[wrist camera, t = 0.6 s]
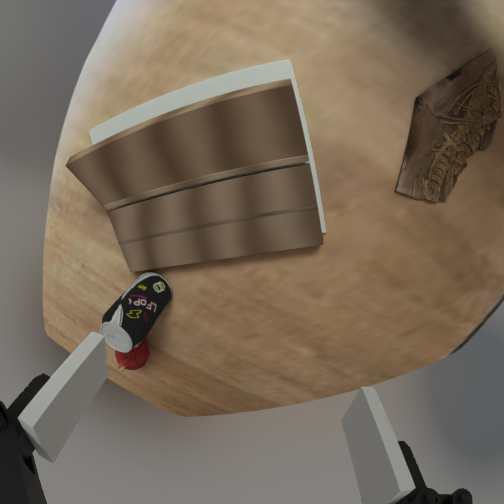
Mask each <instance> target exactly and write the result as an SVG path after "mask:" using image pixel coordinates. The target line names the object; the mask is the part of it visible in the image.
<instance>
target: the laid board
mask: <svg viewBox="0 0 504 504" xmlns="http://www.w3.org/2000/svg"><path fill="white" fill-rule="evenodd" d="M108 214H109V216H110V219H111V222H112V225H113V228H114V231H115V233H116V236H117V239H118V241H119V242H118V243H119V244H120V247H121V249H122V252H123V254H124V257H125V259H126V262H127V264H128V267H129V269H130V271H131V272H134V271H141V270H148V269H155V268H163V267H170V266H177V265H184V264H191V263H198V262H205V261H212V260H219V259H226V258H233V257H240V256H247V255H254V254H261V253H268V252H275V251H282V250H289V249H296V248H303V247H310V246H317V245H324V243H323V236H322V230H321V223H320V217H319V211H318V205H317V199H316V193H315V187H314V182H313V177H312V171H311V166H310V163H304V164H298V165H292V166H287V167H281V168H276V169H271V170H265V171H260V172H255V173H250V174H246V175H241V176H236V177H232V178H227V179H223V180H218V181H214V182H210V183H206V184H201V185H197V186H193V187H189V188H185V189H182V190H178V191H174V192H170V193H166V194H163V195H159V196H155V197H152V198H148V199H145V200H141V201H138V202H135V203H131V204H128V205H125V206H121V207H118V208H115V209H113V210H111V211H109V212H108Z"/></svg>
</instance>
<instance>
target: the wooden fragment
mask: <svg viewBox="0 0 504 504" xmlns="http://www.w3.org/2000/svg"><path fill="white" fill-rule="evenodd" d="M419 97H421V99H422V100H423V102H422V101H421V100H420V98H419ZM415 103H416V108H415V112H414V117H413V122H412V127H411V132H410V137H409V141H408V145H407V150H406V155H405V158H404V162H403V165H402V167H403V168H402V170H401V174H400V178H399V183H398V186H397V190H396V191H395V192H399V193H402V194H404V195H407V196H409V197H411V198H413V199H415V200H420V199H426V200H429V201H431V202H434V203H437V202H438V201H439V200H440V201H446V197H447V196H448V195H449V194H450V192H451V190H452V188H453V187H454V185H455V183H456V181H457V178H456V177H457V176H458V175H459V173H461V172H462V171H463V168H465V167H466V166H467V163H466V159H465V158H467V157H468V156H469V155H473V153H474V152H476V150H483V151H484V150H485V149H486V148H487V147H488V146H489V144H490V143H491V142H492V135H493V132H494V129H495V124H496V121H497V119H498V118H500V117H501V110H500V107H501V103H500V93H499V84H498V78H497V64H496V59H495V55H494V53H493V51H492V49H491V50H489V51H487V52H486V53H484V54H482V55H481V56H479V57H478V58H476V59H474V60H473V61H471V62H470V63H468V64H467V65H465V66H464V67H462V68H460V69H459V70H457V71H456V72H455V73H453V74H451V75H449V76H448V77H446V78H445V79H443V80H442V81H440V82H439V83H437V84H436V85H435V86H434V87H432V88H430V89H428V90H427V91H425V92H424V93H422V94H421V95H419V96H418V97H416V102H415Z"/></svg>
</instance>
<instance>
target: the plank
mask: <svg viewBox="0 0 504 504" xmlns="http://www.w3.org/2000/svg"><path fill="white" fill-rule="evenodd" d="M308 161H309V156H308V151H307V146H306V141H305V137H304V132H303V127H302V123H301V118H300V114H299V110H298V106H297V101H296V97H295V93H294V89H293V85H292V81H291V78H290V79H285V80H279V81H274V82H270V83H265V84H261V85H256V86H252V87H248V88H244V89H240V90H236V91H232V92H229V93H225V94H222V95H218V96H215V97H212V98H208V99H205V100H202V101H199V102H196V103H193V104H190V105H187V106H184V107H181V108H178V109H175V110H173V111H170V112H167V113H164V114H162V115H159V116H157V117H154V118H152V119H149V120H147V121H144V122H142V123H140V124H137V125H135V126H133V127H130V128H128V129H126V130H123V131H121V132H119V133H117V134H115V135H113V136H111V137H108V138H106V139H104V140H102V141H100V142H98V143H96V144H94V145H92V146H90V147H89V148H87V149H85V150H83V151H81V152H79V153H77V154H75V155H74V156H72V157H70V158H69V160H68V162H67V164H66V165H65V166H66V167H67V168H68V169H69V170H70V171H71V172H72V173H73V174H74V175H75V177H76V178H77V179H78V180H79V181H80V182H81V183H82V184H83V185H84V186H85V187H86V188H87V189H88V190H89V191H90V192H91V193H92V195H93V196H94V197H95V198H96V199H97V200H98V201H99V202H100V203H101V204H102V205H103V206H104V207H105V208H106V209H107V210H108V209H111V208H114V207H118V206H121V205H124V204H127V203H131V202H134V201H137V200H141V199H144V198H148V197H151V196H155V195H158V194H162V193H165V192H169V191H173V190H177V189H180V188H184V187H188V186H192V185H196V184H200V183H204V182H208V181H213V180H217V179H221V178H226V177H230V176H235V175H239V174H244V173H249V172H253V171H258V170H263V169H268V168H274V167H279V166H284V165H290V164H296V163H302V162H308Z"/></svg>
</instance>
